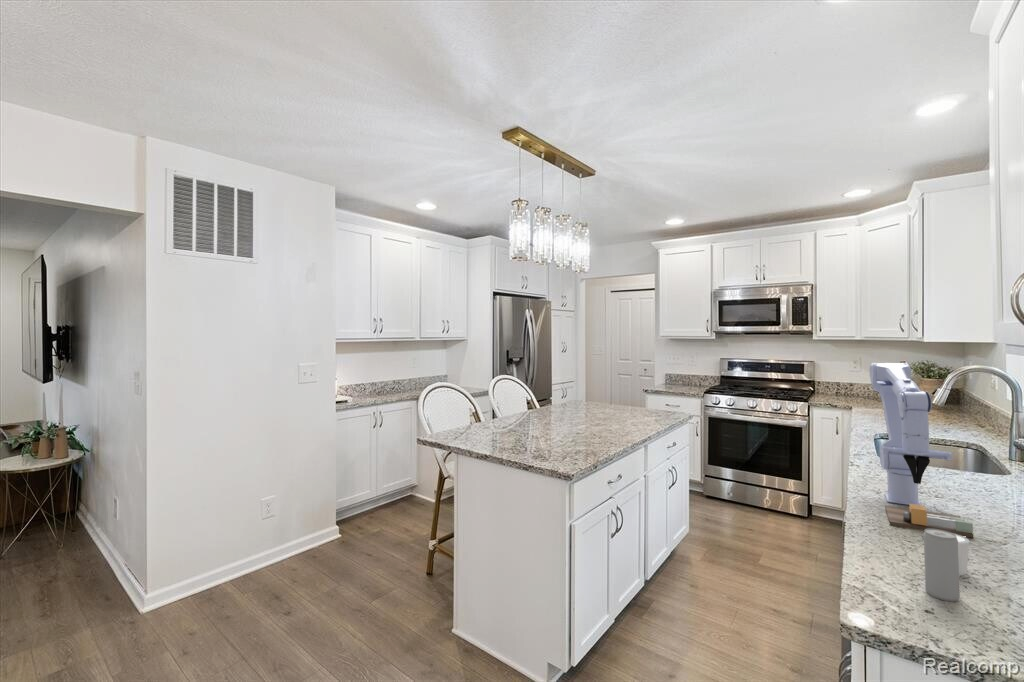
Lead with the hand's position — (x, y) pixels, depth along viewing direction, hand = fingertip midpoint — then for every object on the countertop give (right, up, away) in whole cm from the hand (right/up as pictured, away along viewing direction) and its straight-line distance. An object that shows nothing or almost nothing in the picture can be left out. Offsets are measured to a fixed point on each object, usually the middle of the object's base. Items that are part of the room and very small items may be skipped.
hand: (917, 482), depth 129 cm
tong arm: (-2, -8, -9) cm, 12 cm away
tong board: (-2, -9, -4) cm, 10 cm away
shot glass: (-20, -9, -30) cm, 37 cm away
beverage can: (-31, -9, -41) cm, 52 cm away
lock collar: (-6, -8, -7) cm, 13 cm away
